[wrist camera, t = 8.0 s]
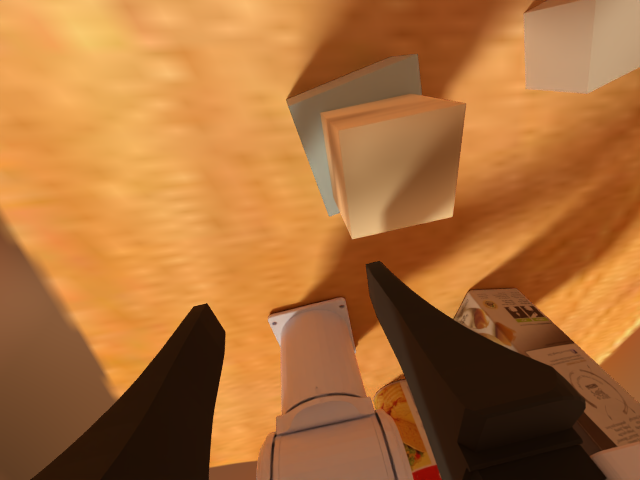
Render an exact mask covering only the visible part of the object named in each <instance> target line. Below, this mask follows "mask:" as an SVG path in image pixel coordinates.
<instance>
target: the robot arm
mask: <svg viewBox="0 0 640 480" xmlns="http://www.w3.org/2000/svg"><path fill="white" fill-rule="evenodd" d="M366 271H367V279H368V286H369V294H370V298H371V301H372V304H373V307H374V310H375V313H376V315H377V318H378V320H379V322H380V324H381V326H382V328H383V330H384V332H385V334H386V336H387V339H388V341H389V343H390V345H391V347H392V349H393V351H394V353H395V355H396V357H397V359H398V361H399V364H400V366H401V368H402V370H403V373H404V375H405V378H406V381H407V383H408V386H409V389H410V391H411V394H412V397H413V399H414V402H415V405H416V408H417V410H418V413H419V416H420V419H421V421H422V424H423V427H424V430H425V433H426V435H427V438H428V441H429V444H430V447H431V450H432V453H433V455H434V458H435V461H436V464H437V467H438V470H439V473H440V476H441V479H442V480H640V442H634V443H630V444H627V445H623V446H619V447H615V448H611V449H607V450H603V451H600V452H597V453H595V454H593V455H591V456H589V455H588V454H587V453H586V452H585V450H584V449H583V448H582V447H581V445H580V444H582V443H583V441H582V438H581V437H580V436H579V435H578V433H577V432H576V431H575V430H574V429H573V427H572V426H573V425H574V424H575V422H576V421H577V420H578V419H579V417H580V416H581V415H582V414H583V412H584V410H585V408H586V402H585V399H584V398H583V397H582V396H581V395H580V394H579V393H578V392H577V390H576V389H575V388H574V387H573V386H572V385H571V384H570V383H569V382H568V381H567V380H566V379H565V378H564V377H563V376H562V375H561V374H560V373H559V372H557V371H556V370H555V369H554V368H553V367H552V366H549V365H547V364H544V363H542V362H539V361H537V360H535V359H532V358H530V357H527V356H525V355H522V354H520V353H517V352H515V351H513V350H511V349H508V348H506V347H504V346H502V345H500V344H498V343H496V342H494V341H492V340H490V339H488V338H486V337H484V336H482V335H480V334H478V333H476V332H475V331H473V330H471V329H469V328H467V327H465V326H464V325H462V324H460V323H458V322H457V321H455V320H453V319H452V318H450V317H449V316H447V315H446V314H444V313H442V312H441V311H439V310H438V309H436V308H435V307H434V306H432V305H431V304H429V303H428V302H427V301H425V300H424V299H423V298H421V297H420V296H419V295H417V294H416V293H415V292H414V291H412V290H411V289H410V288H409V287H408V286H406V285H405V284H404V283H403V282H402V281H400V280H399V279H398V278H397V277H396V276H395V275H394V274H393V273H392V272H391V271H390V270H389V269H388V268H387V267H386V266H385V265H384V264H383V263H382V262H380V261H377V262H373V263H369V264H366ZM340 305H342V306H340ZM268 322H269V324H270V326H271V328H272V330H273V333H274V335H275V337H276V339H277V341H278V343H279V345H280V347H281V403H282V415H281V416H277V417H276V432H272V433H270V434H268V436H267V437H266V440H265V442H264V443H263V445H262V447H261V449H260V453H259V457H258V464H257V476H256V477H257V478H256V480H414V479H413V475H412V471H411V468H410V464H409V461H408V457H407V454H406V451H405V448H404V445H403V442H402V439H401V436H400V434H399V431H398V429H397V426H396V424H395V422H394V420H393V419H392V417H391V416H389V415H388V414H387V413H385V411H384V410H383V409H377V410H375V411H374V408H373V404H372V401H371V398H370V397H367V396H366V392H365V389H364V385H363V382H362V378H361V374H360V371H359V367H358V364H357V360H356V356H355V353H356V349H355V344H354V339H353V334H352V329H351V324H350V320H349V315H348V310H347V305H346V301H345V298H343V297H339V298H335V299H331V300H327V301H323V302H319V303H315V304H311V305H307V306H303V307H299V308H295V309H291V310H287V311H283V312H279V313H275V314H271V315H269V316H268ZM224 352H225V331H224V329H223V327H222V326H221V324H220V323H219V321H218V320H217V318H216V316H215V315H214V313H213V312H212V310H211V309H210V307H209V305H208V304H207V303H206V304H202V305H198V306H194V307H193V308H192V309H191V311H190V312H189V313H188V315H187V316H186V317H185V319H184V320H183V321H182V323H181V324H180V325H179V327H178V328H177V329H176V331H175V332H174V333H173V335H172V336H171V337H170V339H169V340H168V341H167V343H166V344H165V345H164V347H163V348H162V349H161V350H160V352H159V353H158V354H157V355H156V357H155V358H154V359H153V360H152V362H151V363H150V364H149V365H148V366H147V368H146V369H145V370H144V371H143V373H142V374H141V375H140V376H139V377H138V379H137V380H136V381H135V382H134V383H133V384H132V385H131V386H130V388H129V389H128V390H127V391H126V392H125V393H124V394H123V395H122V396H121V397H120V398H119V399H118V400H117V401H116V402H115V404H114V405H113V406H112V407H111V408H110V409H109V410H108V411H107V412H106V413H104V414H103V415H102V416H101V417H100V418H99V419H98V420H97V421H96V422H95V423H94V424H93V425H92V426H91V427H90V428H89V429H88V430H87V431H86V432H85V433H84V434H83V435H82V436H81V437H79V438H78V439H77V440H76V441H75V442H74V443H73V444H72V445H71V446H70V447H69V448H67V449H66V450H65V451H64V452H63V453H62V454H61V455H59V456H58V457H57V458H56V459H55V460H54V461H52V462H51V463H50V464H49V465H48V466H47V467H46V468H44V469H43V470H42V471H41V472H39V473H38V474H37V475H36V476H35V477H34V478H32V479H31V480H209V462H210V446H211V434H212V423H213V415H214V408H215V402H216V397H217V392H218V387H219V381H220V376H221V371H222V365H223V359H224Z"/></svg>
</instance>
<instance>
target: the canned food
mask: <svg viewBox="0 0 640 480" xmlns="http://www.w3.org/2000/svg"><path fill="white" fill-rule="evenodd" d="M373 401H374V404H375V408H376V410H377V409H383V410H384V411H385V413H387V414H388V415H389V416H391V417H392V419H393V420H394V422H395V424H396V426H397V429H398V431H399V434H400V436H401V439H402V442H403V445H404V448H405V451H406V454H407V457H408V461H409V464H410V468H411V471H412V475H413V479H414V480H442V479H441V476H440V473H439V470H438V467H437V464H436V461H435V458H434V455H433V453H432V450H431V447H430V444H429V441H428V438H427V435H426V433H425V430H424V427H423V424H422V421H421V419H420V416H419V413H418V410H417V408H416V405H415V402H414V399H413V397H412V394H411V391H410V389H409V386H408V383H407V381H406V380H400V381H396V382H393V383H390V384H388V385H386V386H384V387H383V388H381V389H380V390H379V391H378V392H377V393H376V395H375V396H374V400H373Z"/></svg>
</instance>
